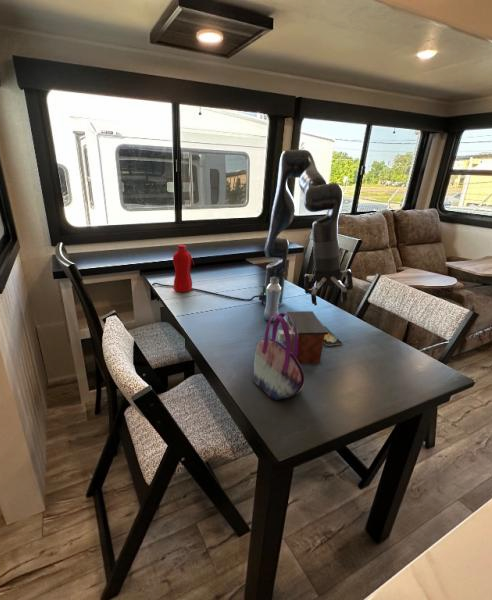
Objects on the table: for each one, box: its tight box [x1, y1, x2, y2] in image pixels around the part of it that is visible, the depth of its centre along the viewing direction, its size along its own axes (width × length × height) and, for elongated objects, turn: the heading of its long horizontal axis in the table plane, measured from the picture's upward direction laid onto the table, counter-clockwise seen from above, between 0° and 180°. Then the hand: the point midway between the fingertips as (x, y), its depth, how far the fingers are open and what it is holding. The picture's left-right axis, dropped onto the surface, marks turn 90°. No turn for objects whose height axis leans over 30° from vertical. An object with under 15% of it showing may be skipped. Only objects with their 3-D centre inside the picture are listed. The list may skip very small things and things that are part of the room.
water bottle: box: [172, 244, 195, 293], centre depth 167 cm, size 9×11×25 cm
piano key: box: [277, 329, 293, 342], centre depth 114 cm, size 6×3×3 cm, turn 94°
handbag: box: [253, 312, 306, 401], centre depth 94 cm, size 21×10×25 cm, turn 31°
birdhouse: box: [284, 310, 328, 365], centre depth 115 cm, size 10×17×13 cm, turn 4°
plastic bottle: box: [263, 277, 281, 322], centre depth 137 cm, size 6×7×20 cm
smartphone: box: [323, 325, 343, 347], centre depth 128 cm, size 7×1×15 cm
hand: (329, 303), depth 99 cm, fingers open, 8 cm apart
